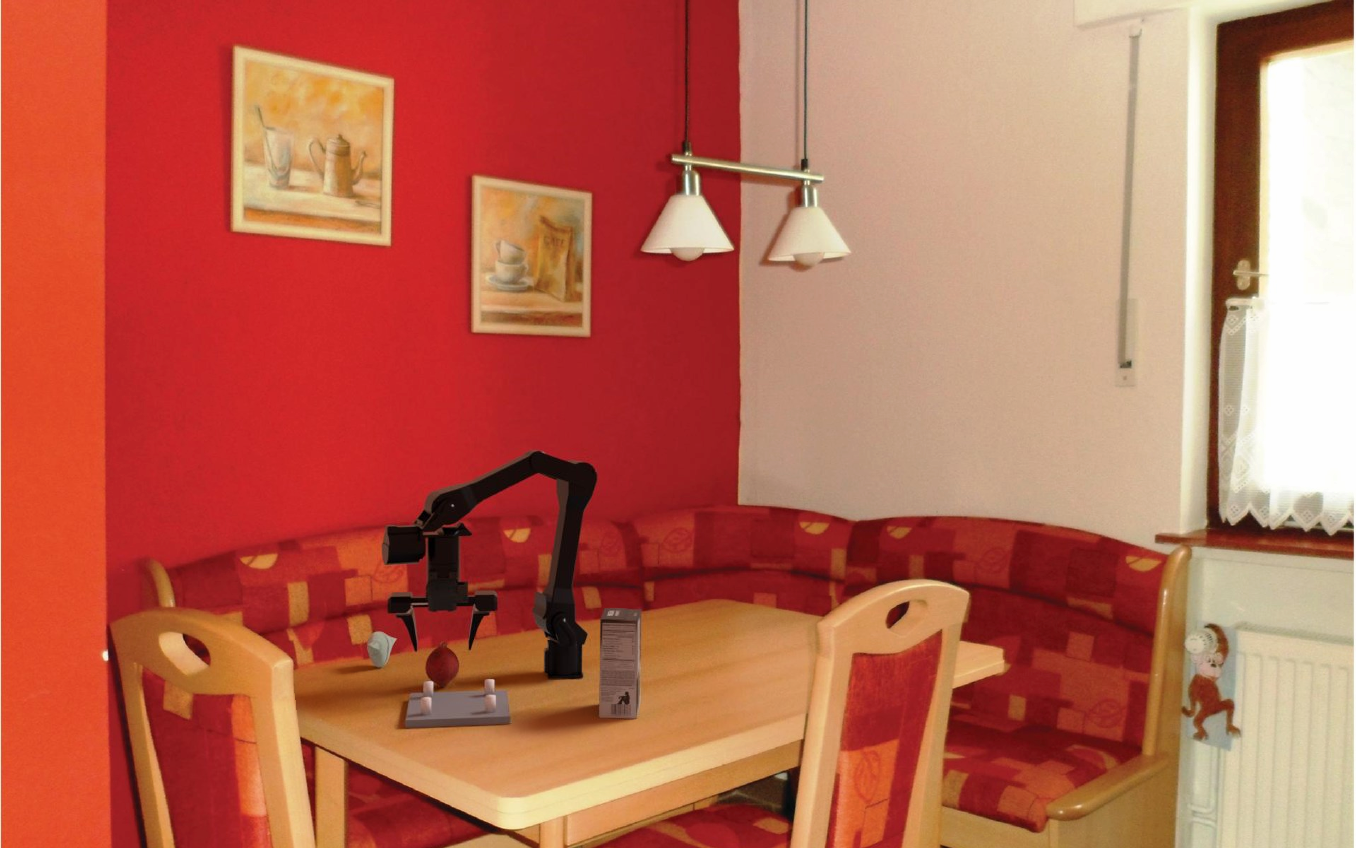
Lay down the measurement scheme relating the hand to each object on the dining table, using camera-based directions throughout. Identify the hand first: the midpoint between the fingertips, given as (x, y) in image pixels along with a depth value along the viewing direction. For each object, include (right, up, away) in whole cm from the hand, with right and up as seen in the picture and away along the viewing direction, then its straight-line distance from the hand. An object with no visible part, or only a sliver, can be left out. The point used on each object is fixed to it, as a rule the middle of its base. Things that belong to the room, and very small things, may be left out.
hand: (443, 650), depth 197 cm
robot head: (-15, -6, +14) cm, 21 cm away
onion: (0, -7, 0) cm, 7 cm away
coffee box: (+32, -7, -13) cm, 35 cm away
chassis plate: (+6, -7, -15) cm, 17 cm away
